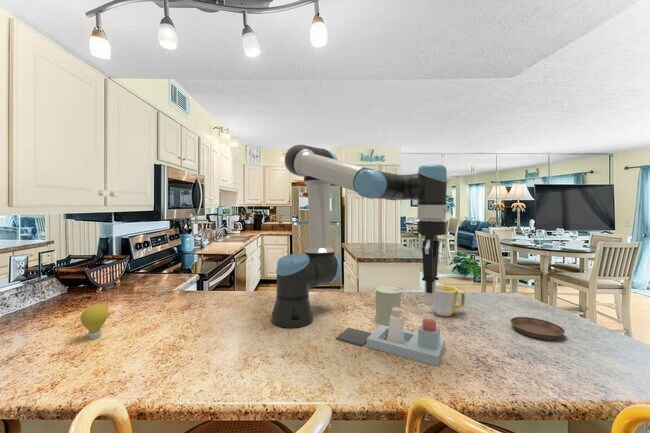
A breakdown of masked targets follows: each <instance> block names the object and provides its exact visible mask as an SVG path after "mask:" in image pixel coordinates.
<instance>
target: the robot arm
mask: <svg viewBox="0 0 650 433" xmlns="http://www.w3.org/2000/svg"><path fill="white" fill-rule="evenodd" d="M284 165H285V167H286V169H287V171H288V172H289V173H290V174H293V175H295V176H299V177H303V183H304V185H306V186H307V197H308V198H307V207H308V208H307V210H308V214H307V215H308V247H307V249H306V250H305V251H304V252H305V253H295V254H294V253H293V254H288V255H287V254H286V255H284V256H282V257H280V258H279V259H278V260H277V264H276V269H275V270H276V300H275V303H274V307H273V309H272V311H271V323H272V325H274V326H277V327H279V328H288V329H296V328H302V327H306V326H308V325H310V324H311V323H312V322H313V321H314V312H313V309H312V305H311V302H310V298H309V296H310V294H309V292H310V288H311V289H312V288H315V287H320V286H326V285H329V284H330V283H333V282H335V281H336V280H337V279H338V278H339V276H340V274H341V270H342V269H341V268H342V266H341V260H340V259H339V257H338V256H337V255H336V254H335V250H334V249H333V247H332V246H331V206H330V205H331V204H330V200H331V199H330V198H331V197H330V194H331V193H330V186H331V185H335V186H338V187H340V188H344V189H346V190H349V191H352V192H356V193H357V194H358V195H359V196H360V197H363V198H366V199H371V200H373V199H375V200H376V199H377V200H378V199H381V200H382V199H383V200H387V201H394V202H395V201H403V200H405V201H406V200H407V201H408V200H415V201H417V219H418V221H417V227H416V228H417V229H416V230H417V234H419V235H424V240H423V241H422V247H421V252H422V253H421V254H422V271H423V273H422V278H421V280H422V281H424V304H426V305H427V304H428V305H431V306H432V305H435V297H436V284H437V281H439V279H440V278H439V277H437V276H438V265H439V249H440V243H441V242H440V240H438V236H444V235H446V233H447V223H446V221H444V220H446V218H447V213H448V212H449V209H448V208H446V207H447V191H448V190H447V189H448V188H447V186H448V177H447V175H448V172H447V167H446V166H445V165H443V164H438V163H437V164H436V163H435V164H432V163H431V164H424V165H421V166H419V167H418V171H417V173H414V174H396V173H391V172H384V171H380V170H377V169H372V168H370V167H369V168H368V167H364V166H360V165H358V164H353V163H349V162H345V161H341V160H338V157H337V156H336V154H335V153H334V152H332V151H331V150H327V149H325V148H319V147H315V146H309V145H305V144H296V145H293V146H291V147H290V148H288V150H287V151H286V153H285V154H284Z"/></svg>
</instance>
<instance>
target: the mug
mask: <svg viewBox="0 0 650 433" xmlns="http://www.w3.org/2000/svg"><path fill="white" fill-rule="evenodd" d="M459 294H460V295H461V302H460V304H459V305H458V304H457V305H456V303H457V298H458V295H459ZM465 295H466V294H465V292H464V291H461V290H459V289H458V287H455V286H452V285H448V284H442V283H438V284H437V283H436V297H435V305H432V304H431V306H432V311H433V312H434V313H435V314H436V315H437V316H441V317H450V316H452V315H453V314H454V313H455V310H456V309H460V308H464V306H465V302H466V296H465Z"/></svg>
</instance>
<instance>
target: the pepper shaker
mask: <svg viewBox="0 0 650 433" xmlns="http://www.w3.org/2000/svg"><path fill="white" fill-rule="evenodd" d="M404 330H405V329H404V319H403V316H402V309H400V308H397V307H394V308H392V315H391V317H390V323H389V331H388V336H387V340H386V341H390V342H394V343H398V344H402V345H406V344H405V340H404Z"/></svg>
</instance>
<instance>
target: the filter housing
mask: <svg viewBox="0 0 650 433" xmlns="http://www.w3.org/2000/svg"><path fill="white" fill-rule="evenodd" d="M388 331H389V326H388V325H382V324H379V325H378V326H377V328H376V329H374V331H372V332H371V333H372V334H371V335H370V336H369V337H368V338H367V343H366V348H368V349H369V348H370V349H374V350H377V351H381V352H384V353H388V354H392V355H395V356H398V357H399V356H400V357H403V358H407V359H411V360H414V361H418V362H422V363H426V364H429V365H432V366H437V367H439V365H440V362H441V359H442V356H443V354H444V351H445V348H446V339H445V338H442V337H441V327H439V326H436V330H435V331H427V330H424V329H423V323H421V325H420V326H419V327H418V329H417V332H414V331H410V330H406V329H404V342H405V341H406V342H408V343H407V344H405V345H402V344H398V343H394V342H390V341H387V340H386V339H385V338H386V337H388Z"/></svg>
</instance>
